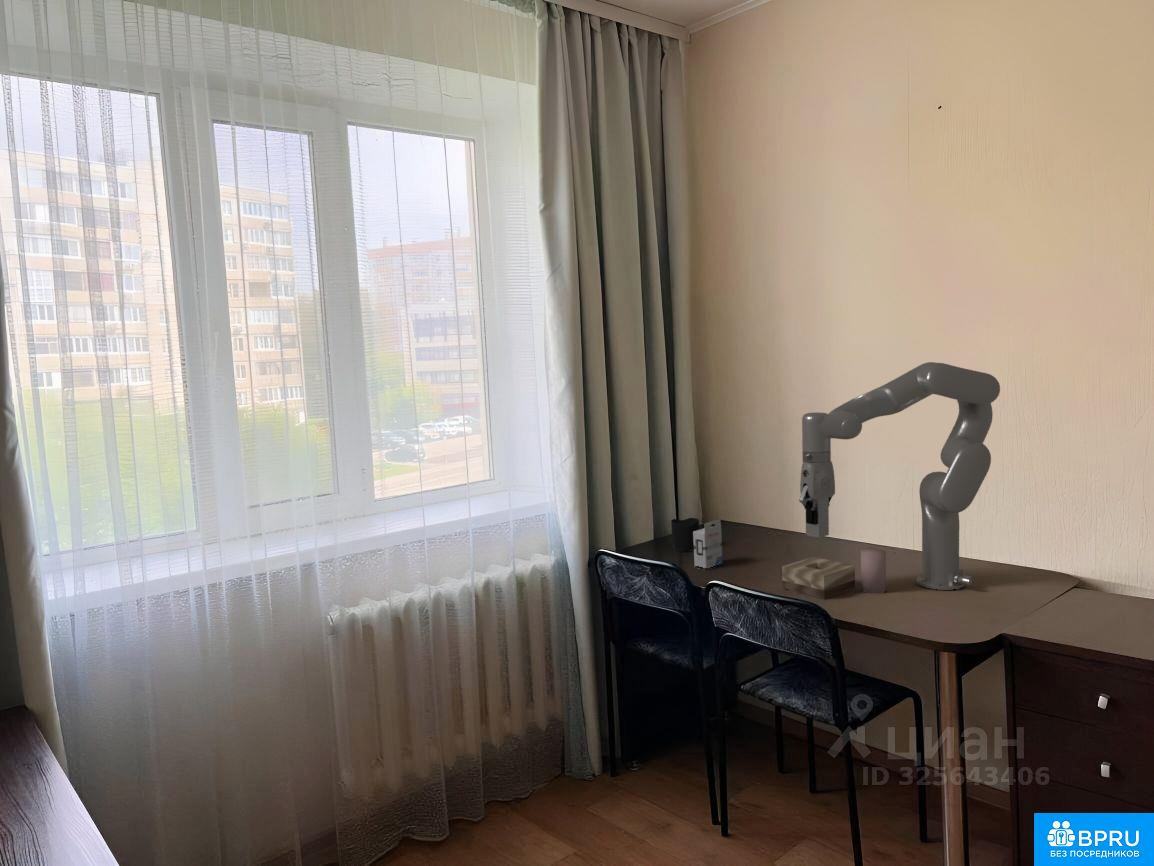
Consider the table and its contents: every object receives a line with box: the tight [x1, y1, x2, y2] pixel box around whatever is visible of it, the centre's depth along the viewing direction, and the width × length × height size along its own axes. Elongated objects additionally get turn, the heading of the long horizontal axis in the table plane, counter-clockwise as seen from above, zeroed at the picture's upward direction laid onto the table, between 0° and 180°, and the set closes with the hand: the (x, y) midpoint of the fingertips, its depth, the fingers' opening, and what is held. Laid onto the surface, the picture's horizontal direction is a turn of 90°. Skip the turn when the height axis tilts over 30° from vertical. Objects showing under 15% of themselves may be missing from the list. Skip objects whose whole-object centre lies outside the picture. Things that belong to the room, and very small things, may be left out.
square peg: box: [805, 497, 830, 538], centre depth 235 cm, size 4×4×11 cm
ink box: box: [693, 518, 723, 569], centre depth 265 cm, size 8×5×15 cm, turn 133°
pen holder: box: [670, 517, 700, 551], centre depth 287 cm, size 9×9×10 cm
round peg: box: [860, 547, 887, 594], centre depth 233 cm, size 6×6×11 cm
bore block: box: [781, 556, 856, 600], centre depth 237 cm, size 14×14×6 cm
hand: (817, 521), depth 236 cm, fingers closed on square peg, 4 cm apart
